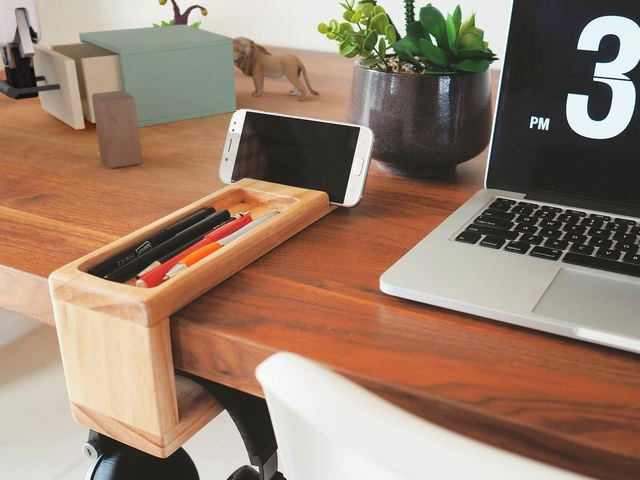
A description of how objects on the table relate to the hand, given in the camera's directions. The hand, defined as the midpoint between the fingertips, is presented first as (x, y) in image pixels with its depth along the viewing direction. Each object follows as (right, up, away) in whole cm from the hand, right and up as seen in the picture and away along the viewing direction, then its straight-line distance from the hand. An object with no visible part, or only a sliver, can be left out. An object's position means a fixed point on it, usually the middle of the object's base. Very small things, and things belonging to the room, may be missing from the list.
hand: (24, 97), depth 95 cm
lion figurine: (+30, +5, +22) cm, 37 cm away
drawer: (+6, -1, +6) cm, 9 cm away
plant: (+7, +21, +51) cm, 56 cm away
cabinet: (+15, +1, +13) cm, 20 cm away
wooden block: (+16, -10, -9) cm, 21 cm away
